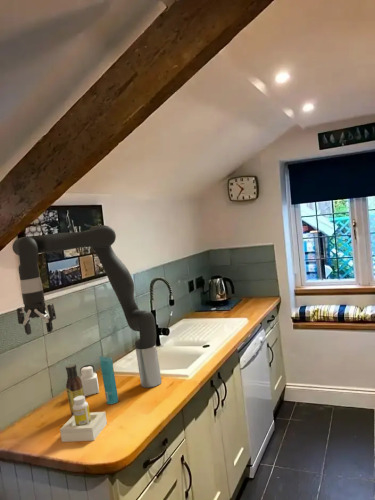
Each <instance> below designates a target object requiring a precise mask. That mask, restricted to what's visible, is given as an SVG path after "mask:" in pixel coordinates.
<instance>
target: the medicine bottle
mask: <svg viewBox="0 0 375 500" xmlns="http://www.w3.org/2000/svg"><path fill="white" fill-rule="evenodd" d="M79 370H80V371H79V372H80V379H81V381H82V386H83V392H84V396H85V397H88V396H92V394H93V395H96V393H97V394H100V388H99V386H100V385H99V380H98V375H97V373H96V372H95V366H94V365H93V364H86V365H83V366H81V367H80V369H79Z"/></svg>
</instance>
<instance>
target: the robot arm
mask: <svg viewBox="0 0 375 500" xmlns="http://www.w3.org/2000/svg"><path fill="white" fill-rule="evenodd" d="M116 235H117V234H116V231H115V230H114V229H113V228H112V227H111V226H109V225H94V226H91V227H89V229H88V230H85V231H73V232H56V233H50V234H43V235H38V236H23V237H19V238H16V239H15V240H14V241H13V243H12V246H11V247H12V251H13V253H15V255H17V256H18V257H19V265H18V275H19V280H20V284H19V285H20V292H21V297H22V298H21V299H22V303H23V305H24V306H21V307H17V308H16V315H17V322H18V324H19V325H23V328H24V332H25V334H26V336H27V335H28V336H29V335H31V334H32V327H31V323H30V322H31V320H32V319H34V318H41V319H42V320H43V321H44V322H45V325H46V332H47V333H48V334H49V333H51V332H53V330H54V327H53V321H54V320H56V319H57V314H56V310H55V306H54V304H53V303H49V304H46V303H45V302H46V301H45V295H44V294H45V293H44V287H43V282H42V279H41V275H40V270H39V269H40V268H39V254H50V253H56V252H64V251H68V250H75V249H81V248H89V247H91V249H92V250H93V251H94V253H95V255H96V256H97V258H98V260H99V261H100V264H101V266H102V269H103V270H104V271H103V272H104V273H105V275H106V276H107V279H108V281H109V283H110V285H111V287H112V290H113V291H114V294H115V295H116V297H117V300H118V302H119V304H120V307H121V309H122V310H123V314H124V318H125V320H126V323H127V325H128V327H129V329H131V330H132V331H135V332H139V338H138V339H136V340H135V341H134V348H135V354H136V360H137V367H138V373H139V379H140V386H141V387H142V388H145V389H146V388H154V387H156V386H159V385H160V384H162V376H161V369H160V361H159V355H158V349H157V343H156V342H157V327H156V319H155V316H154V314H153V313H152V312H151V311H150V310H140V308H139V307H138V305H137V303H136V300H135V295H134V294H135V282H134V280H133V278H132V276H131V273H130V271H129V269H128V268H127V267H126V265H125V263H123V261H122V260H121V259H120V258H119V257H118V255H116V253H115V252H114V250H113V248H112V245H113V244H114V243H115V241H116V238H117V236H116ZM25 313H26V314H25Z"/></svg>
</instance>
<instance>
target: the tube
mask: <svg viewBox="0 0 375 500" xmlns="http://www.w3.org/2000/svg"><path fill="white" fill-rule="evenodd" d="M99 364H100V370H101V375H102V382H103V387H104V395H105V399H106V400H105V401H106V404H107V405H115V404H116V403H118V402H119V394H118V389H117V382H116V375H115V370H114V363H113V357H111V356H109V357H108V356H99Z"/></svg>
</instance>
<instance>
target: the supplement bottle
mask: <svg viewBox="0 0 375 500" xmlns="http://www.w3.org/2000/svg"><path fill="white" fill-rule="evenodd" d="M73 400H74V405H73V412H74V417H75V423H76V426H84V425H89V424H90V423H91V418H90V413H91V411H90V406H89V403H88V402H87V401H86V396H77V397H75V398H74V399H73Z"/></svg>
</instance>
